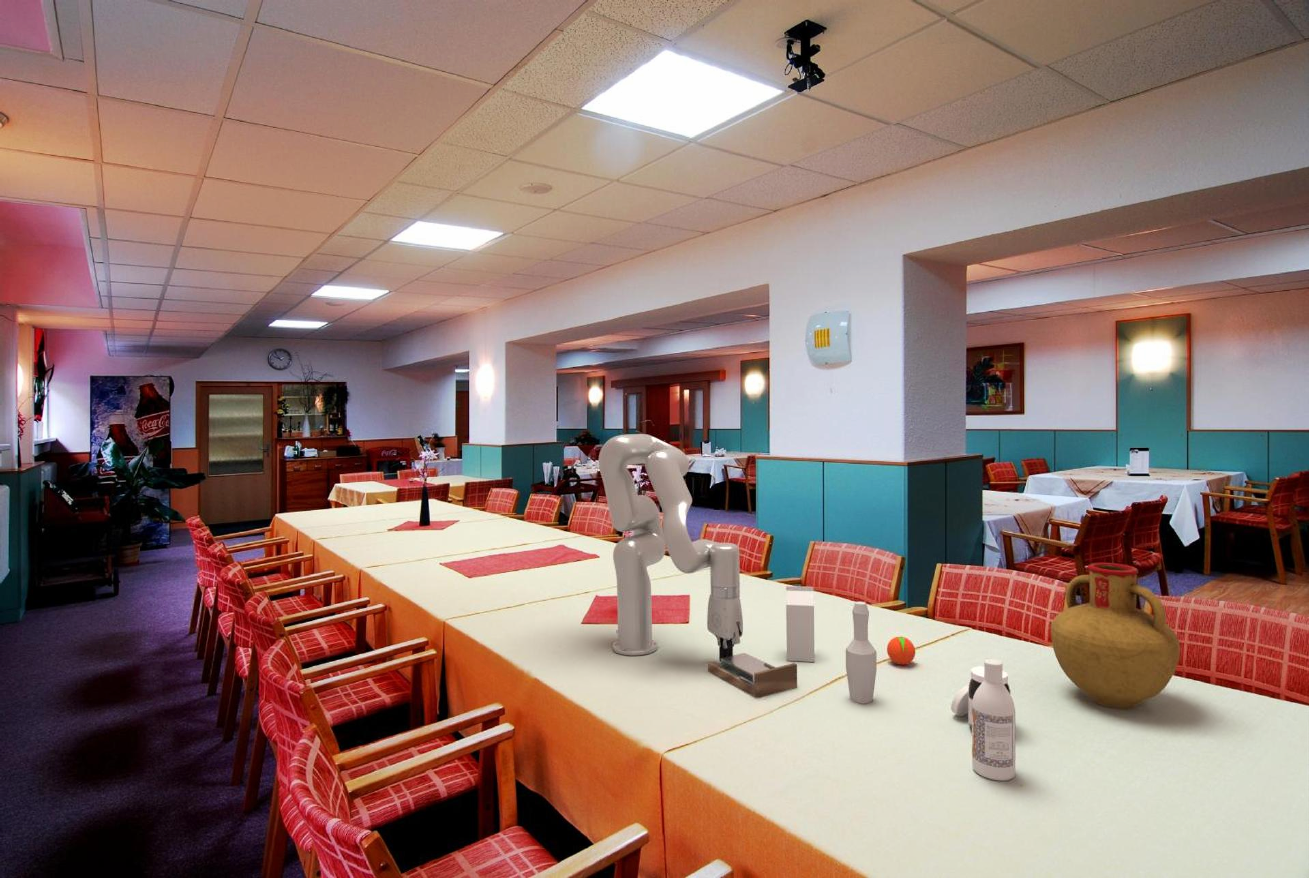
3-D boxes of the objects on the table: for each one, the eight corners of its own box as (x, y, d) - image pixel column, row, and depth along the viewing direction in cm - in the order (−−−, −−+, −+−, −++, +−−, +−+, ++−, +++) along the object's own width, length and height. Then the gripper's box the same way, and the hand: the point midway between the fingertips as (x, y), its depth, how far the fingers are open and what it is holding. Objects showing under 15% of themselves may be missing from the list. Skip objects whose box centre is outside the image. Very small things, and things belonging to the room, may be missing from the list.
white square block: (738, 681, 168) (738, 667, 168) (762, 674, 171) (762, 661, 171) (758, 691, 161) (757, 676, 161) (783, 685, 165) (782, 670, 165)
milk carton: (814, 662, 179) (813, 590, 178) (786, 661, 180) (786, 589, 180) (813, 653, 186) (813, 583, 185) (787, 651, 187) (786, 582, 187)
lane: (707, 670, 174) (707, 649, 174) (745, 661, 180) (745, 640, 180) (757, 698, 157) (756, 673, 157) (797, 687, 163) (796, 663, 163)
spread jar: (1008, 743, 134) (1008, 684, 133) (946, 729, 140) (945, 673, 139) (1013, 719, 144) (1013, 664, 143) (955, 708, 150) (955, 655, 149)
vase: (1026, 690, 158) (1026, 561, 158) (1095, 673, 168) (1095, 552, 167) (1133, 733, 137) (1134, 584, 136) (1205, 711, 146) (1206, 571, 145)
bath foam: (978, 758, 128) (978, 652, 127) (1019, 770, 123) (1019, 660, 123) (967, 773, 123) (966, 662, 122) (1009, 786, 118) (1009, 671, 118)
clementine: (918, 670, 172) (918, 642, 172) (889, 669, 173) (889, 641, 173) (912, 659, 180) (912, 633, 179) (885, 658, 181) (885, 631, 181)
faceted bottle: (861, 707, 151) (860, 608, 150) (840, 697, 157) (840, 601, 156) (882, 701, 154) (881, 604, 153) (861, 691, 160) (860, 597, 159)
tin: (720, 671, 174) (720, 658, 174) (744, 665, 178) (744, 652, 178) (738, 681, 168) (738, 667, 168) (763, 675, 172) (763, 661, 171)
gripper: (697, 587, 182) (698, 656, 182) (730, 600, 169) (731, 673, 169) (720, 583, 185) (721, 650, 186) (754, 595, 172) (755, 667, 173)
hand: (726, 661), depth 178 cm, fingers closed
